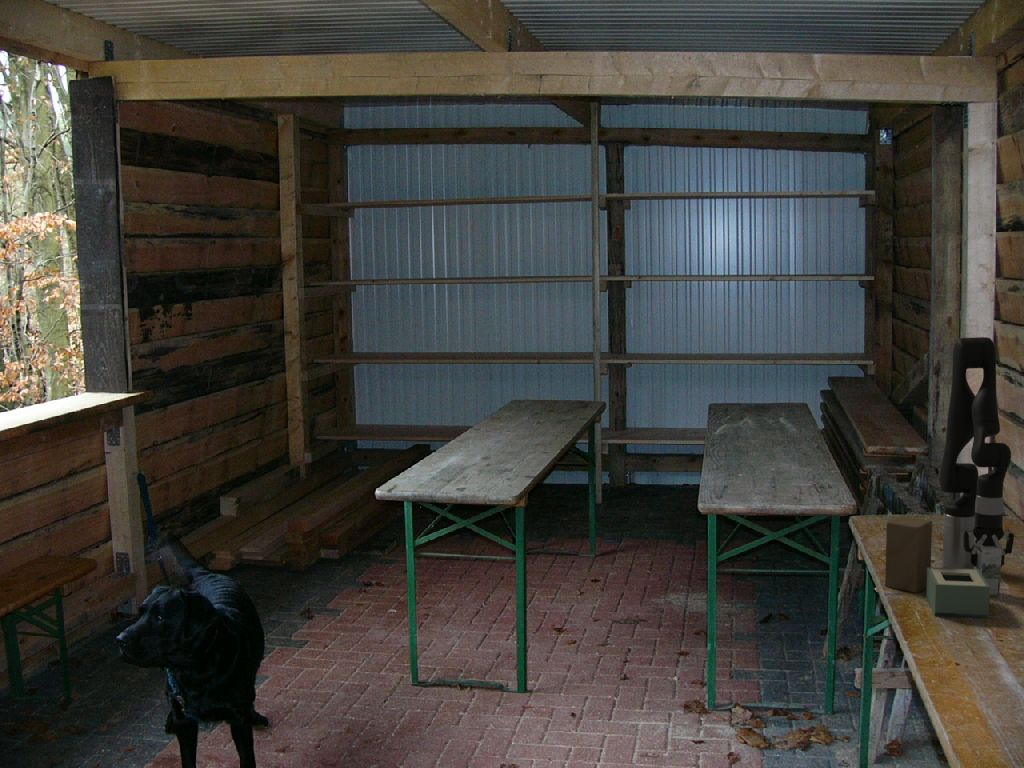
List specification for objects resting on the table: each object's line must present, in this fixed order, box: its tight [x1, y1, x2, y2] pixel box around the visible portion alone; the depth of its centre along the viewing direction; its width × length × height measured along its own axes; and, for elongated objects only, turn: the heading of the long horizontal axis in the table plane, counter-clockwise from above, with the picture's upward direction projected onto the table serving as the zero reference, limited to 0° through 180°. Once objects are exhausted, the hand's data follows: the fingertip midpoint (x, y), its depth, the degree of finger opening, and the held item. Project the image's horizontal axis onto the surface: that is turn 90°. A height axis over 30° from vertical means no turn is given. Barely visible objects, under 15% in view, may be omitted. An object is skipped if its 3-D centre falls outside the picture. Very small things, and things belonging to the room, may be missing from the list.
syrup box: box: [973, 545, 1002, 597], centre depth 329 cm, size 6×6×14 cm
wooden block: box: [884, 515, 933, 593], centre depth 336 cm, size 10×10×20 cm
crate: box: [925, 566, 991, 619], centre depth 318 cm, size 16×14×9 cm
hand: (986, 566), depth 329 cm, fingers closed on syrup box, 6 cm apart
